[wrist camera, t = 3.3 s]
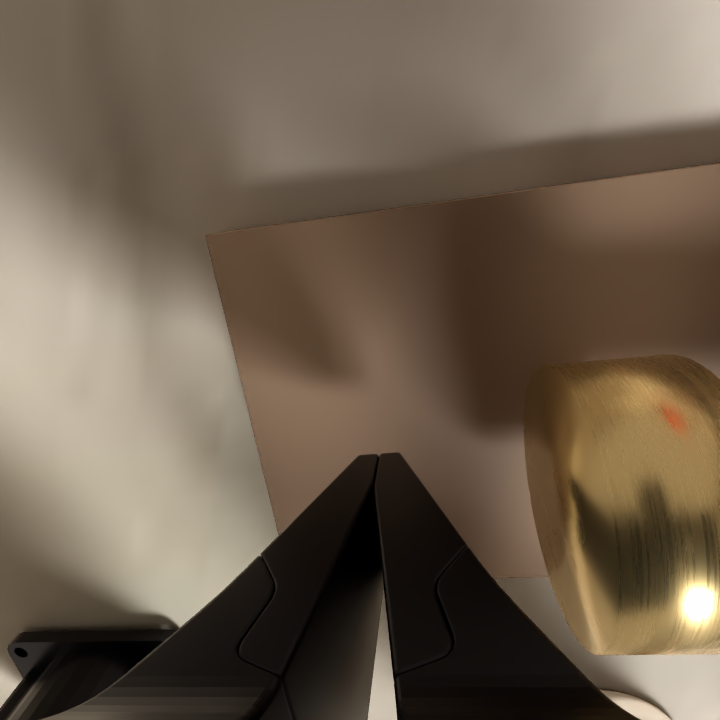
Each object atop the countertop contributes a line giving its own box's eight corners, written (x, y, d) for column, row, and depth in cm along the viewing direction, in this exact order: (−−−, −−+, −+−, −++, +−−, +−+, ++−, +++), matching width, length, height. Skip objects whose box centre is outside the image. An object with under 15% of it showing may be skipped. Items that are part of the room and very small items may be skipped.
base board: (298, 558, 14) (291, 584, 13) (222, 232, 11) (205, 235, 10) (1147, 526, 11) (1215, 556, 10) (1414, 65, 8) (1551, 48, 7)
